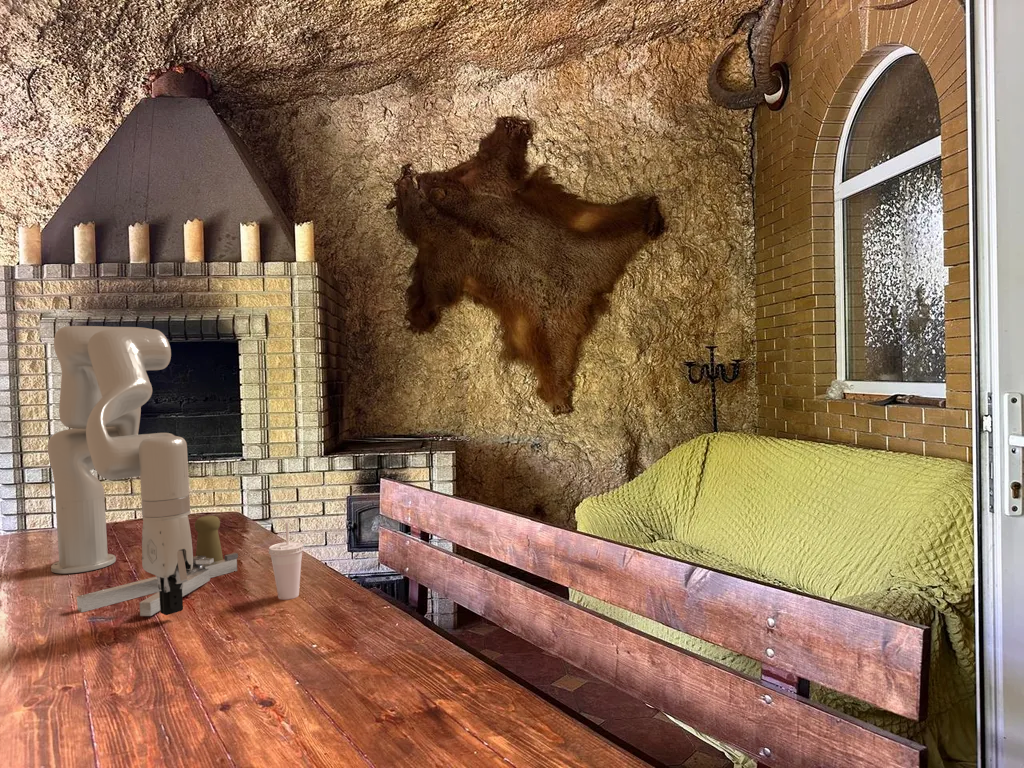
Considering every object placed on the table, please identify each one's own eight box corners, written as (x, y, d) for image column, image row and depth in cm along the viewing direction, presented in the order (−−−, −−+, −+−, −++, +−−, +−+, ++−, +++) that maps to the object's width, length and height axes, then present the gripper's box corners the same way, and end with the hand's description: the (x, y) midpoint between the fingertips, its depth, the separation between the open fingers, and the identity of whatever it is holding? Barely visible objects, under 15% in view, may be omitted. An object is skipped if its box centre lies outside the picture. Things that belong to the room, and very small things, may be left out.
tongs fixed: (77, 610, 128) (76, 590, 128) (234, 568, 152) (233, 552, 152) (82, 612, 127) (80, 593, 126) (239, 570, 150) (239, 553, 150)
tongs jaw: (121, 616, 122) (119, 593, 122) (194, 575, 146) (193, 555, 146) (151, 615, 122) (149, 592, 122) (219, 574, 146) (218, 555, 146)
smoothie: (313, 592, 133) (309, 519, 133) (292, 603, 127) (288, 527, 127) (285, 589, 135) (281, 518, 135) (263, 600, 129) (259, 526, 129)
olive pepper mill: (213, 569, 152) (210, 519, 151) (188, 568, 153) (186, 519, 153) (229, 561, 158) (227, 513, 157) (206, 560, 159) (203, 513, 159)
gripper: (125, 507, 122) (131, 610, 123) (163, 516, 113) (169, 628, 113) (169, 499, 128) (174, 598, 128) (208, 508, 118) (213, 614, 119)
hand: (171, 611), depth 121 cm, fingers closed
